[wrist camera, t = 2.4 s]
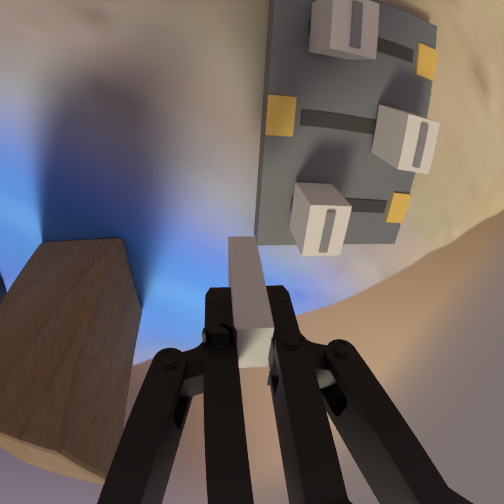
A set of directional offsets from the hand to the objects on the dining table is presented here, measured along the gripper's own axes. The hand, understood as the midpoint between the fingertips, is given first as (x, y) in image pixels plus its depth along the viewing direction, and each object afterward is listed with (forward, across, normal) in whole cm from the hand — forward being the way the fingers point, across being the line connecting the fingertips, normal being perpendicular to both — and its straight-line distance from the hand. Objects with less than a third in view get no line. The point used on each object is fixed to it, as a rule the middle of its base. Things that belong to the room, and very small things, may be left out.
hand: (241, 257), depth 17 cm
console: (+9, +9, +7) cm, 15 cm away
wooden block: (+9, -15, -9) cm, 20 cm away
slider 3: (+7, +12, +7) cm, 15 cm away
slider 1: (+7, +6, +14) cm, 17 cm away
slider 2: (+7, +6, 0) cm, 9 cm away
